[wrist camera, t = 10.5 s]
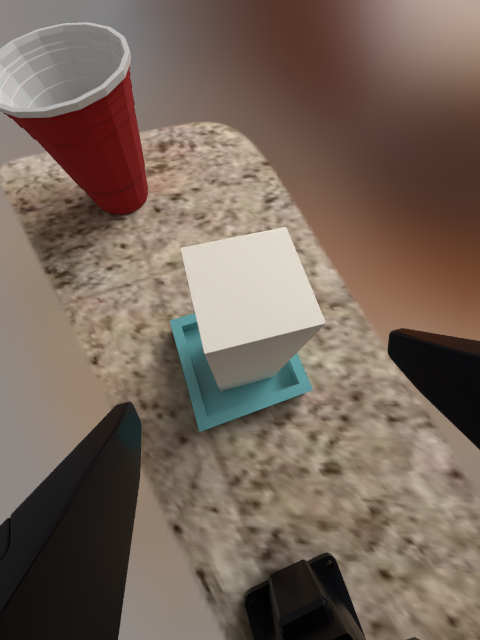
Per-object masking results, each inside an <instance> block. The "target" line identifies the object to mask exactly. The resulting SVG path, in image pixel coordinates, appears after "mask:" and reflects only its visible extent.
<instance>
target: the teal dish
mask: <svg viewBox="0 0 480 640" xmlns="http://www.w3.org/2000/svg"><path fill="white" fill-rule="evenodd" d="M170 323H171V327H172V331H173V335H174V338H175V342H176V346H177V350H178V354H179V357H180V361H181V365H182V369H183V372H184V376H185V380H186V384H187V387H188V391H189V395H190V399H191V402H192V406H193V410H194V414H195V417H196V421H197V425H198V429H199V432H201V431H204V430H206V429H209V428H212V427H214V426H217V425H220V424H223V423H225V422H228V421H231V420H233V419H236V418H239V417H241V416H244V415H247V414H250V413H252V412H255V411H258V410H260V409H263V408H266V407H268V406H271V405H274V404H276V403H279V402H282V401H285V400H287V399H290V398H293V397H295V396H298V395H301V394H303V393H306V392H309V391H311V390H313V389H312V386H311V384H310V382H309V380H308V377H307V375H306V373H305V370H304V368H303V366H302V363H301V361H300V359H299V356H298V354H297V353H296V354H295V355H294V356H293V357H292V358H291V359H290V360H289V361H288V362H287V363H286V364H285V365H284V366H283V367H282V368H281V369H280V370H279V371H278V372H277V373H276V374H275V375H274V376H273V377H272V378H268V379H265V380H261V381H257V382H254V383H250V384H246V385H243V386H239V387H235V388H232V389H228V390H224V391H221V392H220V390H219V387H218V385H217V382H216V380H215V378H214V375H213V373H212V371H211V368H210V366H209V364H208V361H207V359H206V357H205V354H204V350H203V345H202V341H201V336H200V332H199V327H198V323H197V319H196V314H195V313H194V314H190V315H187V316H184V317H180V318H177V319H174V320H170Z"/></svg>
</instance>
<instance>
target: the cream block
mask: <svg viewBox="0 0 480 640" xmlns="http://www.w3.org/2000/svg"><path fill="white" fill-rule="evenodd" d="M181 251H182V256H183V260H184V265H185V269H186V274H187V278H188V283H189V287H190V292H191V296H192V301H193V305H194V310H195V314H196V319H197V323H198V327H199V332H200V336H201V341H202V345H203V350H204V354H205V357H206V359H207V361H208V364H209V366H210V368H211V371H212V373H213V375H214V378H215V380H216V382H217V385H218V387H219V390H220V392H221V391H224V390H228V389H232V388H235V387H239V386H243V385H246V384H250V383H254V382H257V381H261V380H265V379H268V378H272V377H273V376H274V375H275V374H276V373H277V372H278V371H279V370H280V369H281V368H282V367H283V366H284V365H285V364H286V363H287V362H288V361H289V360H290V359H291V358H292V357H293V356H294V355H295V354H296V353H297V352H298V351H299V350H300V349H301V348H302V347H303V346H304V345H305V344H306V343H307V342H308V341H309V340H310V339H311V338H312V337H313V336H314V335H315V334H316V333H317V332H318V331H319V330H320V329H321V328H322V327H323V326H324V325H325V324H326V322H325V320H324V317H323V315H322V313H321V310H320V308H319V305H318V303H317V301H316V298H315V296H314V293H313V291H312V288H311V286H310V284H309V281H308V279H307V276H306V274H305V271H304V269H303V267H302V264H301V262H300V259H299V257H298V255H297V252H296V250H295V247H294V245H293V242H292V240H291V238H290V235H289V233H288V230H287V228H286V227H283V228H278V229H273V230H268V231H263V232H258V233H253V234H248V235H243V236H238V237H233V238H228V239H223V240H218V241H213V242H208V243H203V244H198V245H193V246H188V247H183V248H181Z"/></svg>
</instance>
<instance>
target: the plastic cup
mask: <svg viewBox="0 0 480 640" xmlns="http://www.w3.org/2000/svg"><path fill="white" fill-rule="evenodd" d="M130 62H131V57H130V51H129V48H128V45H127V42H126V39H125V37H124V36H122V35H121V34H119V33H118V32H117V31H115V30H114V29H112V28H111V27H107V26H103V25H98V24H93V23H64V24H59V25H54V26H51V27H47V28H42V29H38V30H35V31H32V32H30V33H28V34H26V35H24V36H21V37H19V38H17V39H15V40H12V41H10V42H9V43H8V44H6V45H5V46H4V47H2V48H1V49H0V112H3V113H4V114H6V115H7V116H8V117H9V118H12V119H13V120H14V121H15V122H16V123H17V124H18V125H19V126H20V127H22V128H24V129H25V130H26V131H27V132H28V133H29V134H30V135H31V137H33V139H35V140H37V141H38V142H39V143H40V144H41V145H42V147H43V148H44V149H45V150H46V151H47V152H48V153H49V154H50V155H51V156H52V157H53V158H54V160H55V161H56V162H57V163H58V164H59V165H60V166H61V167H62V168H63V169H64V170H65V171H66V172H67V174H68V175H69V176H70V177H71V178H72V179H73V180H74V181H75V182H76V183H77V184H78V185H79V187H80V188H81V189H83V190H84V191H85V192H86V193H87V194H88V195H89V196H90V197H91V199H92V200H93V201H94V202H95V203H96V204H97V205H98V206H99V207H100V208H102V210H103V211H106V212H108V213H110V214H118V215H123V214H127V213H131V212H133V211H135V210H137V209H139V208H140V207H141V206H142V205H143V204H144V202H145V201H146V199H147V195H148V191H147V190H148V186H147V180H146V175H145V169H144V167H145V163H144V158H143V152H142V147H141V141H140V136H139V130H138V125H137V120H136V114H135V109H134V104H135V103H134V99H133V94H132V84H131V80H130V70H129V69H130V66H129V65H130Z"/></svg>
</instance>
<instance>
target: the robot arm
mask: <svg viewBox="0 0 480 640" xmlns="http://www.w3.org/2000/svg"><path fill="white" fill-rule="evenodd" d="M388 355H389V357H390V358H391V359H392V360H393V362H394V363H395V364H396V365H397V366H398V367H399V369H400V370H401V371H402V372H403V373H404V374H405V376H406V377H407V378H408V379H409V380H410V381H411V382H412V384H413V385H414V386H415V387H416V388H417V389H418V390H419V391H420V392H421V393H422V394H423V395H424V396H425V397H426V398H427V399H428V400H429V401H430V402H431V403H432V404H433V405H434V406H435V407H436V408H437V409H438V410H439V411H440V412H441V413H442V414H443V415H444V416H445V417H446V418H447V419H448V420H450V421H451V422H452V423H453V424H454V425H455V426H456V427H457V428H458V429H459V430H460V431H461V432H462V433H463V434H464V435H465V436H466V437H467V438H468V439H469V440H470V441H471V442H472V443H473V444H474V445H475V446H476V447H477V448H478V449H480V341H476V340H470V339H464V338H457V337H452V336H446V335H439V334H434V333H428V332H422V331H416V330H410V329H404V328H401V329H397V330H394V331H391V332H390V334H389V342H388ZM140 467H141V421H140V419H139V417H138V414H137V412H136V410H135V408H134V405H133V404H132V403H131V402H125V403H121V404H118V405H116V406H115V407H114V408H113V409H112V410H111V411H110V412H109V413H108V414H107V415H106V416H105V417H104V418H103V419H102V421H101V422H100V423H99V424H98V425H97V426H96V427H95V428H94V429H93V430H92V431H91V432H90V433H89V434H88V435H87V436H86V437H85V438H84V440H82V441H81V442H80V443H79V444H78V445H77V447H76V448H75V449H74V450H73V451H72V452H71V453H70V454H69V455H68V456H67V457H66V458H65V459H64V460H63V461H62V462H61V463H60V464H59V465H58V466H57V467H56V468H55V469H54V471H53V472H51V473H50V475H49V476H48V477H47V478H46V479H45V480H44V481H43V482H42V483H41V484H40V485H39V486H38V487H37V488H36V489H35V490H34V491H33V493H31V494H30V495H29V497H27V498H26V499H25V501H24V502H23V503H22V504H21V505H20V506H19V507H18V508H17V509H16V510H15V511H14V512H13V513H12V514H11V517H10V518H7V519H6V520H5V521H4V522H3V523H2V524H1V525H0V640H118V635H119V628H120V620H121V613H122V606H123V598H124V591H125V583H126V577H127V569H128V562H129V555H130V547H131V540H132V532H133V525H134V518H135V511H136V503H137V496H138V489H139V481H140ZM328 560H331V562H332V563H331V565H330V566H329V567H327V566H326V562H327V561H328ZM251 597H254V598H255V599H256V601H255V603H253V604H251V603H250V602H249V599H250V598H251ZM245 607H246V611H247V614H248V618H249V622H250V626H251V629H252V633H253V637H254V640H366V638H365V636H364V633H363V630H362V628H361V625H360V622H359V620H358V617H357V615H356V612H355V609H354V607H353V604H352V601H351V599H350V596H349V593H348V591H347V588H346V585H345V583H344V580H343V577H342V575H341V572H340V570H339V567H338V564H337V562H336V560H335V558H334V557H333V556H332V555H331V554H330V553H324V554H322V555H320V556H318V557H316V558H313V559H311V560H309V561H305V560H301V561H299V562H297V563H294V564H292V565H290V566H288V567H286V568H284V569H282V570H280V571H278V572H276V573H273V574H271V575H270V578H269V580H267V581H265V582H263V583H261V584H259V585H257V586H255V587H253V588H251V589H249V590H248V591H247V592H246V594H245ZM407 640H419V639H417V638H416V637H413V638H410V639H407Z"/></svg>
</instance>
